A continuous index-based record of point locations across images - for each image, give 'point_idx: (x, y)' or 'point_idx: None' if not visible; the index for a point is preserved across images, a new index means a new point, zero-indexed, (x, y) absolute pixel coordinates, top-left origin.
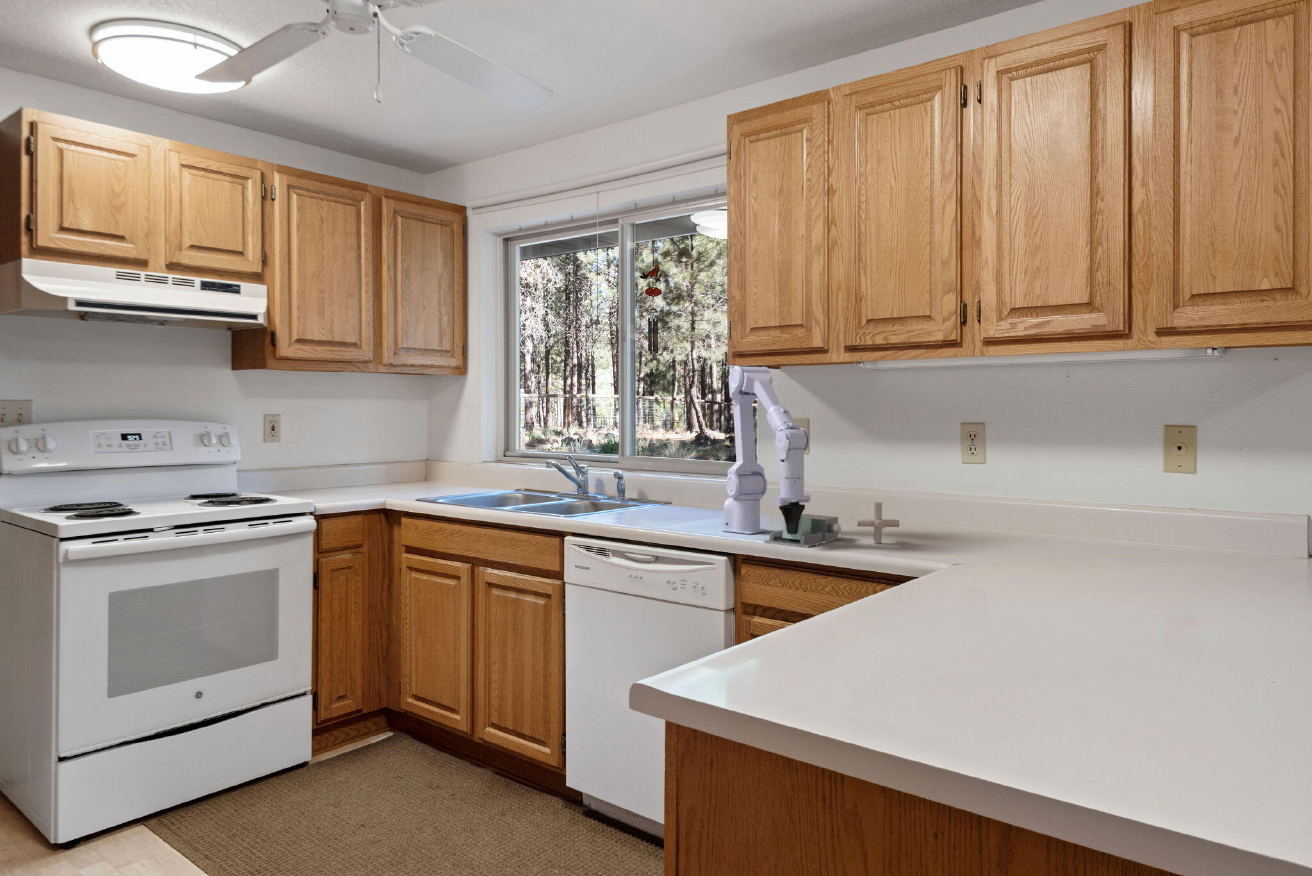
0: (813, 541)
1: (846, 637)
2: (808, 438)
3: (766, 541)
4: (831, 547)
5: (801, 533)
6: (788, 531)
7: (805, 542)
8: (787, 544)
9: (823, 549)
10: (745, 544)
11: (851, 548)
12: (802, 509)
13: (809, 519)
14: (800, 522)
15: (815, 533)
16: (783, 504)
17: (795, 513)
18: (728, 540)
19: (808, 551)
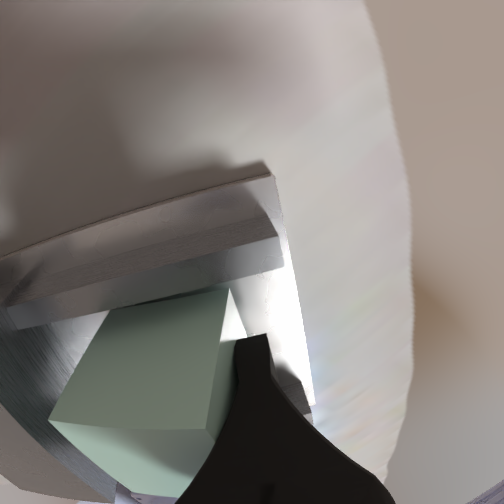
0: (135, 251)
1: None
2: None
3: (313, 394)
4: (120, 94)
5: (219, 316)
6: (277, 377)
7: (249, 223)
8: (298, 306)
9: (231, 65)
10: (398, 387)
11: (55, 13)
12: (222, 501)
13: (78, 413)
14: (218, 392)
15: (89, 290)
16: (483, 499)
17: (338, 453)
18: (360, 448)
19: (369, 84)
